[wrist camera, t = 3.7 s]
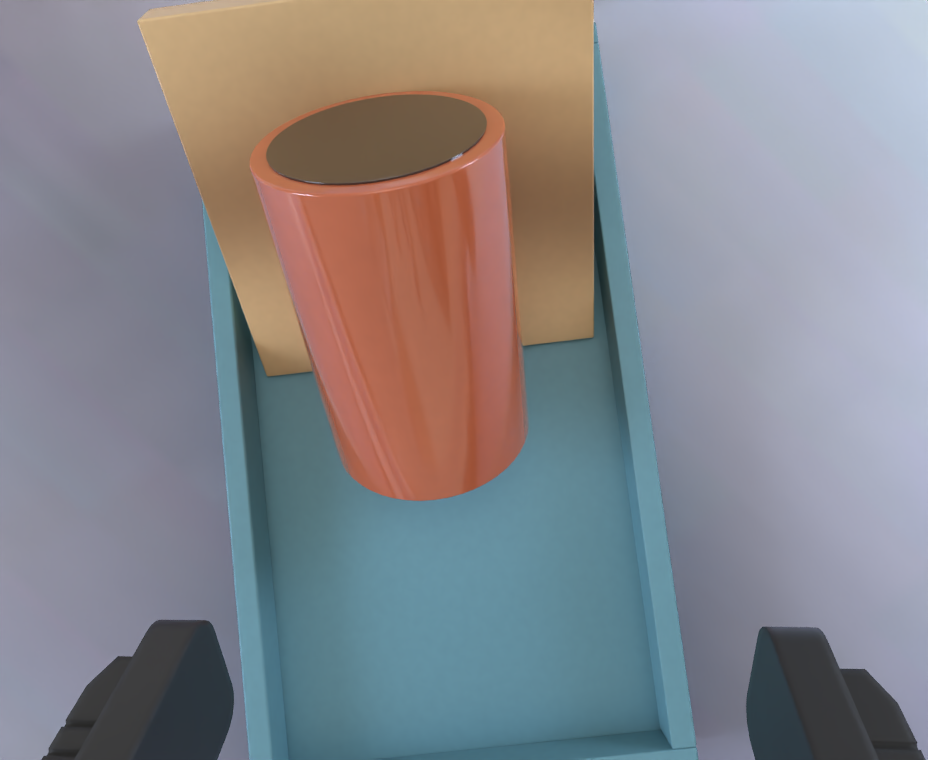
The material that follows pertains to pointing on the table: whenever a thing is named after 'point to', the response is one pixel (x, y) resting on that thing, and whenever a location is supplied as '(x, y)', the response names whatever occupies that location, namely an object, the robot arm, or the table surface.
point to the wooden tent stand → (377, 72)
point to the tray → (460, 560)
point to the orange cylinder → (403, 284)
